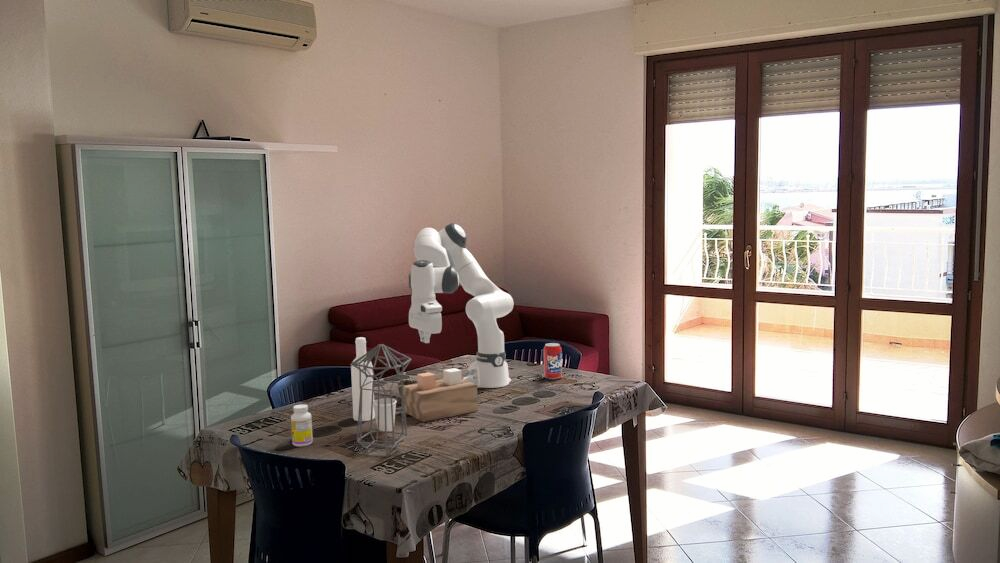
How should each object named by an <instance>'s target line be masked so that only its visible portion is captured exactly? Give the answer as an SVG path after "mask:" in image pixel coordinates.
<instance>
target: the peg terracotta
mask: <svg viewBox="0 0 1000 563" xmlns="http://www.w3.org/2000/svg"><path fill="white" fill-rule="evenodd" d="M416 376H417V380H416V382H417V383H418V388H419V389H421V390H428V389H434V388H436V380H437V379H436V374H435V373H432V372H430V371H429V372H422V373H417V374H416Z"/></svg>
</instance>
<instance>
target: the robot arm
mask: <svg viewBox="0 0 1000 563" xmlns="http://www.w3.org/2000/svg"><path fill="white" fill-rule="evenodd" d="M414 241H415V242H414V245H413V254H414V257H415V259H416V260H417V261H414V262H412V264H411V269H410V273H409V274H408V288H409V290H411V291H412V292H411V305H410V308H409V311H408V325H409V327H410V328H412V329H416V330H418V334H419V335H418V336H419V337H420V342H422V343H425V344H430V340H431V339H430V338H431V336H432V335H433V334H440V333H441V332H442V328H443V327H442V326H443V321H442V318H443V317H442V313H441V312H442V311H443V306H442V304H440V303H439V302H438V300H436V297H437V296H436V294H454V293H455V292H456V291H457V290H458V288H459V285H461V287H462V288H463V290H464V292H466V293H468V294H470V295H471V296H473V298H471V299H469V300H468V301H467V303H466V305H465V313H466V315H467V318H468V319H469V320H470V321H472V323H473V325H474V327H475V329H476V334H477V347H478V348H477V350H478V351H476V352H475V355H476V358H475V361H474V362H473V363H472V364H470V366H469V367H468V369H467V376H465V377H462V379H463V380H466V381H468V382H471V383H474V384H476V385H477V389H478V388H484V389H494V388H501V387H502V388H503V387H506V386H508V385H510V382H512V379H511V378H510V376H509V374H510V373H509V366H508V363H507V361H506V359H507V358H506V355H507V354H506V350H505V335H504V331H503V330H501V329H500V328H499V325H498V323H497V319H500V318H503V317H505V316H507V315H509V313H511V312H512V311H513V309H514V305H515V304H514V303H515V302H514V298H513V297H512V295H511V294H510V293H508V292H505V291H504V290H502V289H501V288H500V287H498V286H497V285H496V284H495V283H494V282H492V280H491V279H489V277H488V276H487V275H486V273H485V272H484V270H483V269H482V267H481V265H480V264H479V263H478V261H477V259H476V257H474V256H473V254H472V253H471V252H470V251H469V250H468V249H467V233H466V231H465V230H464V229H463V228H462V227H461V226H460V225H459V224H458V223H454V222H451V223H449V224H447V225H445V227H444V228H442V229H441V230H439V231H437V230H436V228H432V227H424V228H422V229H421V230H420V231H418V234H417V236H416V238H415V240H414Z"/></svg>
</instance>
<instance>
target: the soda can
mask: <svg viewBox="0 0 1000 563" xmlns="http://www.w3.org/2000/svg"><path fill="white" fill-rule="evenodd" d="M562 350H563V349H562V347H561V344H560V343H558V342H557V343H556V342H550V343H545V345H544V347H543V377H544V378H545V379H547V380H552V381H553V380H558V379H560V378H562V377H563V362H562V361H563V360H562V358H563V356H562V355H563V354H562V353H563V351H562Z"/></svg>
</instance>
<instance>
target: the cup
mask: <svg viewBox="0 0 1000 563" xmlns="http://www.w3.org/2000/svg"><path fill="white" fill-rule="evenodd" d="M417 383H418V382H417V380H412V381H410V379H405V380H403V386H405V385H411V384H417ZM400 385H401V383H397V387H398V386H400ZM397 389H398V392H399V396H400V397H401V386H400V387H398V388H397Z"/></svg>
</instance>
